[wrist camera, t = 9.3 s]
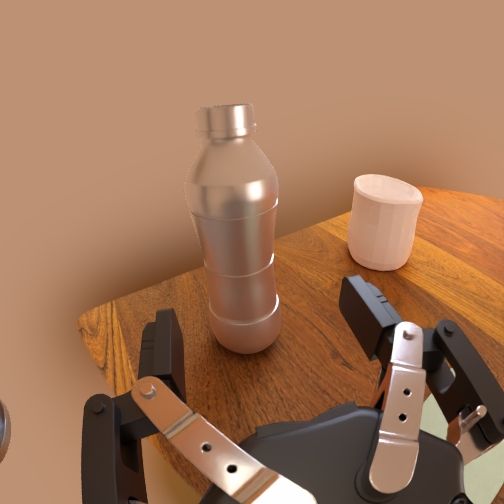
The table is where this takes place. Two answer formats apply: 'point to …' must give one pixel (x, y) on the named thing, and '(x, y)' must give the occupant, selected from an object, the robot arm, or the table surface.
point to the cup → (383, 221)
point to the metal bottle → (235, 227)
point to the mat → (478, 470)
